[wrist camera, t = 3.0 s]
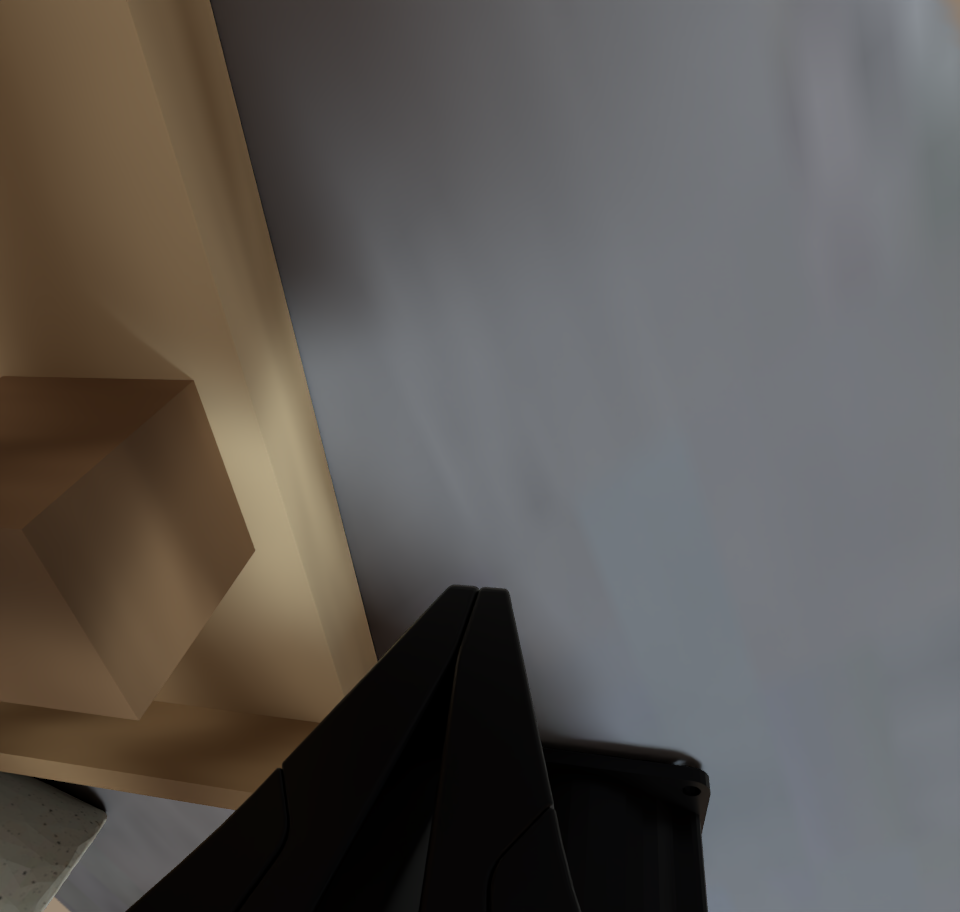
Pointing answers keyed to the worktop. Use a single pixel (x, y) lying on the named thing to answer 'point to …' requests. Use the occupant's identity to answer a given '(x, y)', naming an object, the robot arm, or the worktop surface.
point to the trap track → (172, 376)
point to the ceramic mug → (40, 840)
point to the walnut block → (108, 538)
